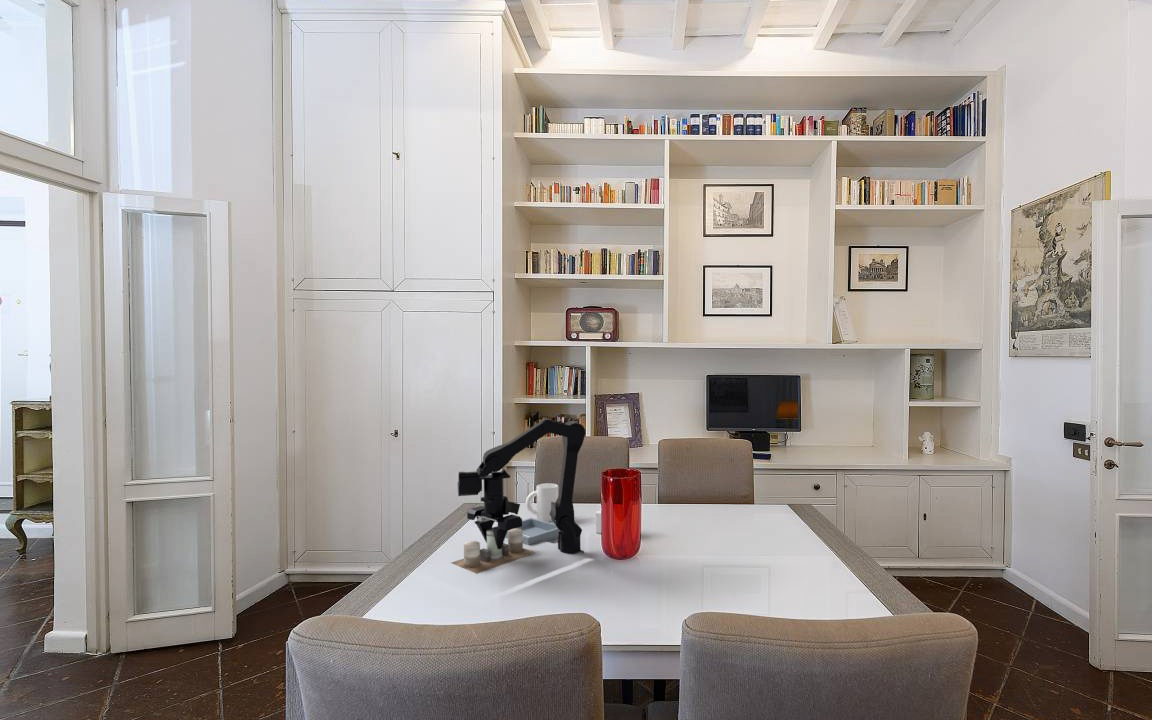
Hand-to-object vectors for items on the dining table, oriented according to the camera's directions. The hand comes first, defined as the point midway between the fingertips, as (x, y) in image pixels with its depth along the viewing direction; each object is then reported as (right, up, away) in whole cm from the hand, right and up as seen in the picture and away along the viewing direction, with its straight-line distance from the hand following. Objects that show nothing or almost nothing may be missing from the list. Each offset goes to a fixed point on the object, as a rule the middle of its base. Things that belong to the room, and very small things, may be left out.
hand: (494, 547), depth 167 cm
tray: (+8, -4, +22) cm, 24 cm away
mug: (+11, -4, +43) cm, 44 cm away
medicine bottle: (+35, -4, +26) cm, 44 cm away
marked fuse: (0, -3, 0) cm, 3 cm away
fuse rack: (0, -4, 0) cm, 4 cm away
